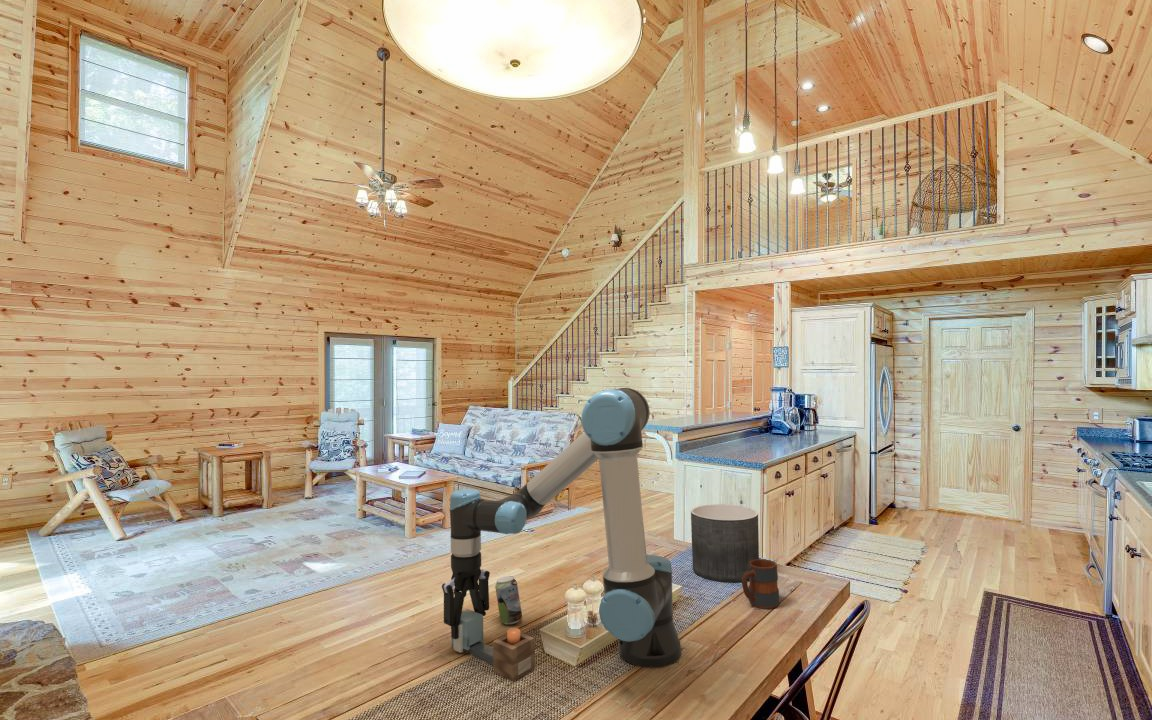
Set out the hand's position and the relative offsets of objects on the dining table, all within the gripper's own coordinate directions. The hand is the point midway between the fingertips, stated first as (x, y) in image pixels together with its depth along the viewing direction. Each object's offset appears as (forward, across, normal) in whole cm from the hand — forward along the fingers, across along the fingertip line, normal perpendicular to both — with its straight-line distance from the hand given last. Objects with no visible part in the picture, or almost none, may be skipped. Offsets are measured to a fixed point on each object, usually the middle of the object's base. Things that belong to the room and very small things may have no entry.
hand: (467, 645), depth 144 cm
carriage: (-1, 0, 0) cm, 1 cm away
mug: (+1, -69, +47) cm, 83 cm away
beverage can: (+1, -17, -3) cm, 17 cm away
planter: (+1, -89, +27) cm, 93 cm away
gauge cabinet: (+1, 0, +17) cm, 17 cm away
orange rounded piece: (-5, 0, +17) cm, 17 cm away
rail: (+1, 0, +4) cm, 5 cm away
